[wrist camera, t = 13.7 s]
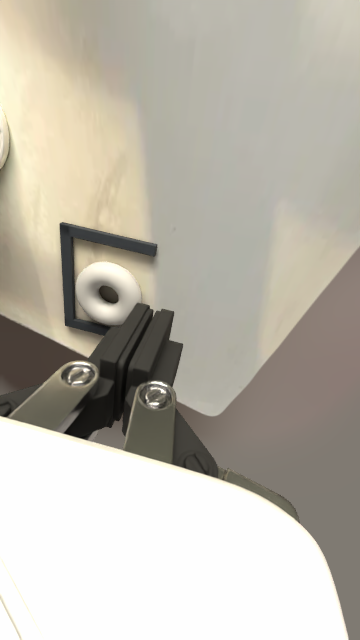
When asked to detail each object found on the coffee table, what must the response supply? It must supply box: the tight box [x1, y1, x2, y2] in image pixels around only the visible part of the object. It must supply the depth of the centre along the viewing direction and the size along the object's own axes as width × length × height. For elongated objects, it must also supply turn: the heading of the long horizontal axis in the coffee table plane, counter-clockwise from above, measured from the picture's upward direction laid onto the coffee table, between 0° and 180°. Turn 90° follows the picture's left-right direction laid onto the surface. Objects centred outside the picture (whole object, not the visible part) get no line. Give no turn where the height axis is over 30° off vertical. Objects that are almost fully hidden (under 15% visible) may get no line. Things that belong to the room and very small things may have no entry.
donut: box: [76, 262, 142, 325], centre depth 43 cm, size 10×3×10 cm
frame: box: [60, 222, 157, 336], centre depth 44 cm, size 14×17×1 cm
